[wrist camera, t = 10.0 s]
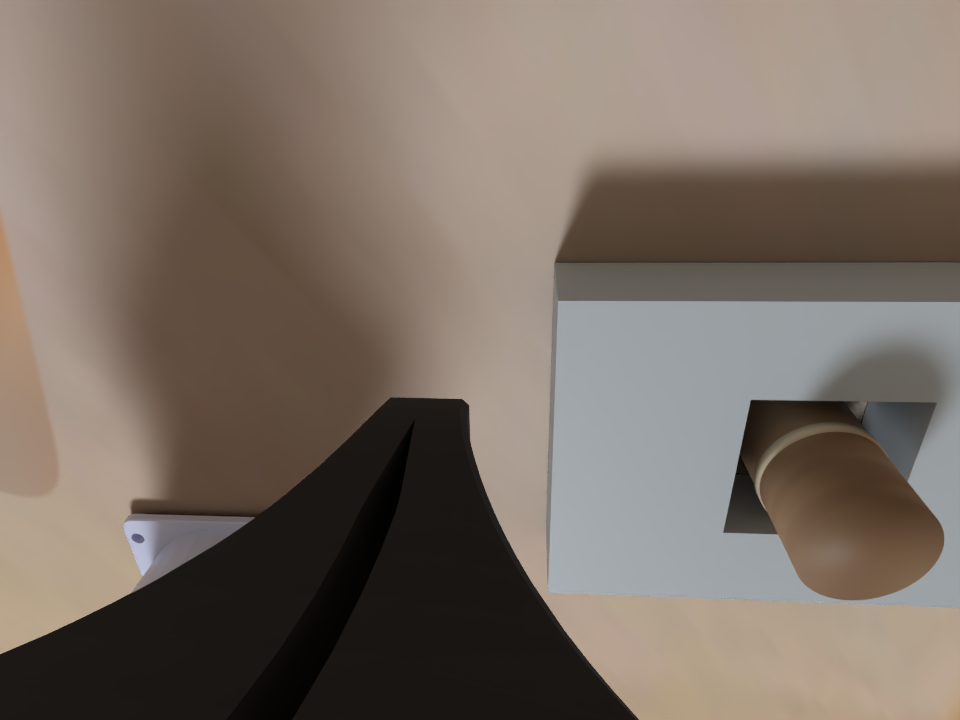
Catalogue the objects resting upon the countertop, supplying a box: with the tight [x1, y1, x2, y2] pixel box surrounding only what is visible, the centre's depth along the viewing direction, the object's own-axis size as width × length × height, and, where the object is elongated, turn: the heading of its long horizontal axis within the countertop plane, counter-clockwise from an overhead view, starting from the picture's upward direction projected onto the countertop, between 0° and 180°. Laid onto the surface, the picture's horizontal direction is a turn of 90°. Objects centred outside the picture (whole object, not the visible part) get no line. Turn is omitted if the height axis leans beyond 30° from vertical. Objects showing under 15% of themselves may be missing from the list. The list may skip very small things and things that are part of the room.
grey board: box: [546, 262, 960, 608], centre depth 20 cm, size 11×16×3 cm
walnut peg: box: [740, 400, 944, 600], centre depth 19 cm, size 4×4×6 cm
